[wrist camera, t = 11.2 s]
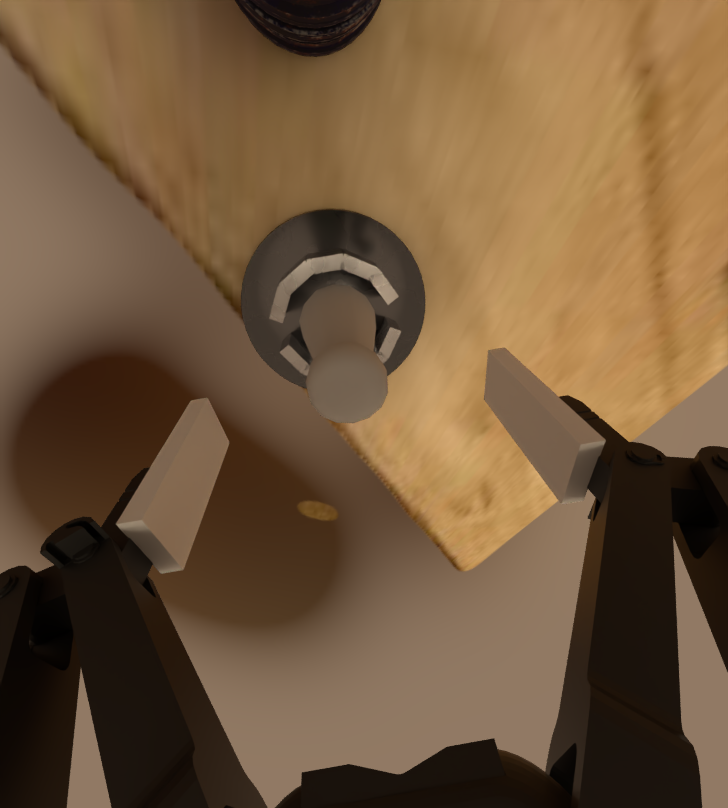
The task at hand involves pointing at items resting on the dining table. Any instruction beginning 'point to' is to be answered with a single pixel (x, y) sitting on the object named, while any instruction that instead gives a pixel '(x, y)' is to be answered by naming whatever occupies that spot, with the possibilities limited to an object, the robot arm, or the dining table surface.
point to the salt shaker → (342, 355)
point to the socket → (323, 266)
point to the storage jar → (310, 22)
